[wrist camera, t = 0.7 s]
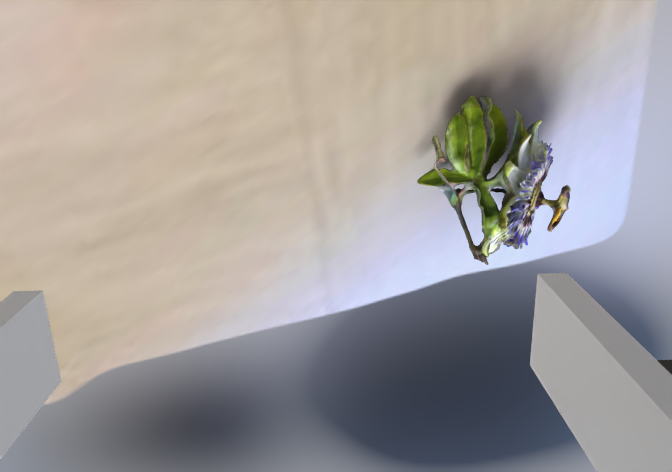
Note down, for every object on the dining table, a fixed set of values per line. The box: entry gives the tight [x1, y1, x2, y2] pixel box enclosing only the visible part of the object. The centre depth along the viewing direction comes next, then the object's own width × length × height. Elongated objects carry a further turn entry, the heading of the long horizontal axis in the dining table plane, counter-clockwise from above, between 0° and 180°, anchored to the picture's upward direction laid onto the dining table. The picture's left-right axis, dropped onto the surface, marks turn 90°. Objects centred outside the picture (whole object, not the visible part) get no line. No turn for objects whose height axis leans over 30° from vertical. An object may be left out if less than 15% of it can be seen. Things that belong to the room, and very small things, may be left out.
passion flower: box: [417, 95, 571, 265], centre depth 48 cm, size 11×11×12 cm
